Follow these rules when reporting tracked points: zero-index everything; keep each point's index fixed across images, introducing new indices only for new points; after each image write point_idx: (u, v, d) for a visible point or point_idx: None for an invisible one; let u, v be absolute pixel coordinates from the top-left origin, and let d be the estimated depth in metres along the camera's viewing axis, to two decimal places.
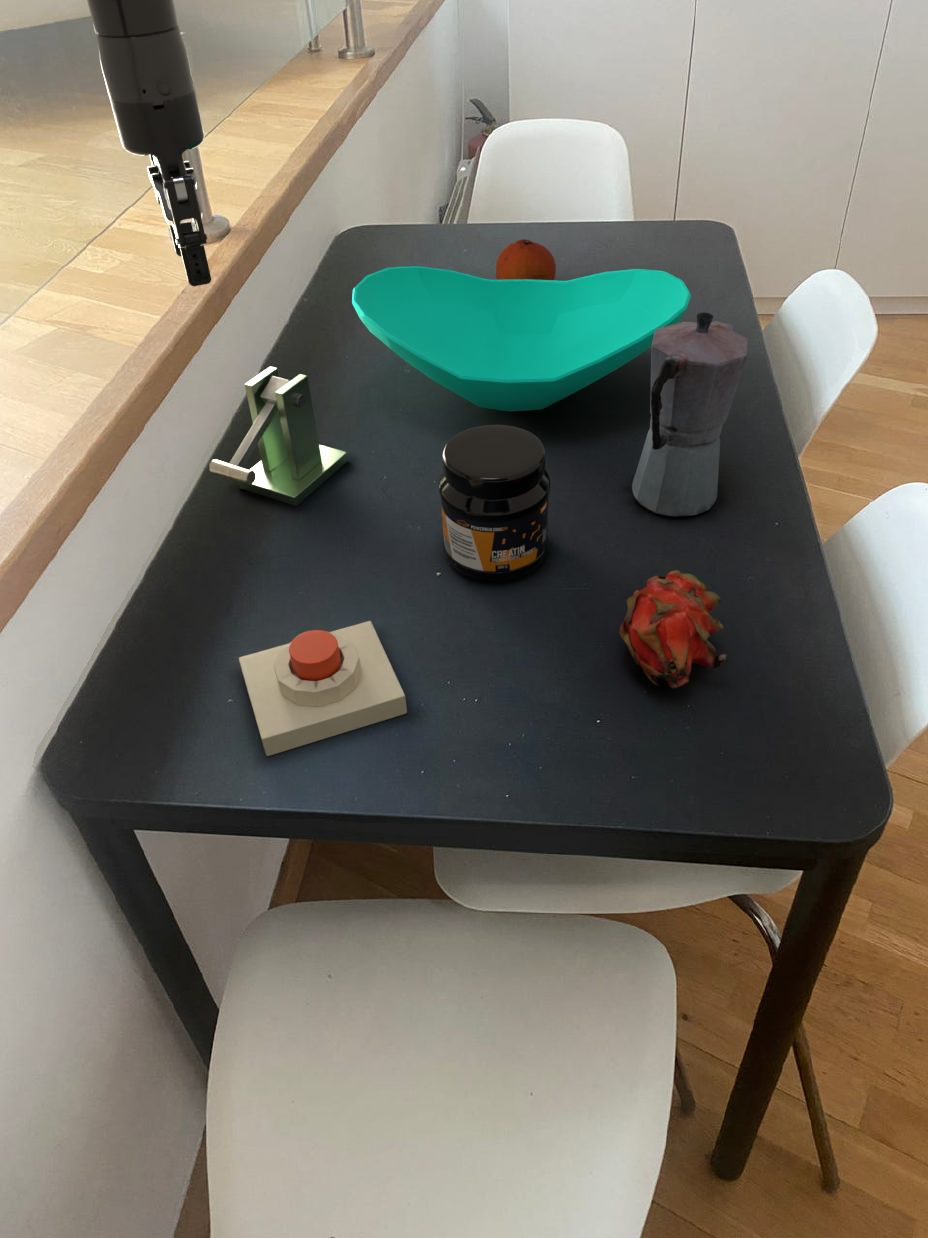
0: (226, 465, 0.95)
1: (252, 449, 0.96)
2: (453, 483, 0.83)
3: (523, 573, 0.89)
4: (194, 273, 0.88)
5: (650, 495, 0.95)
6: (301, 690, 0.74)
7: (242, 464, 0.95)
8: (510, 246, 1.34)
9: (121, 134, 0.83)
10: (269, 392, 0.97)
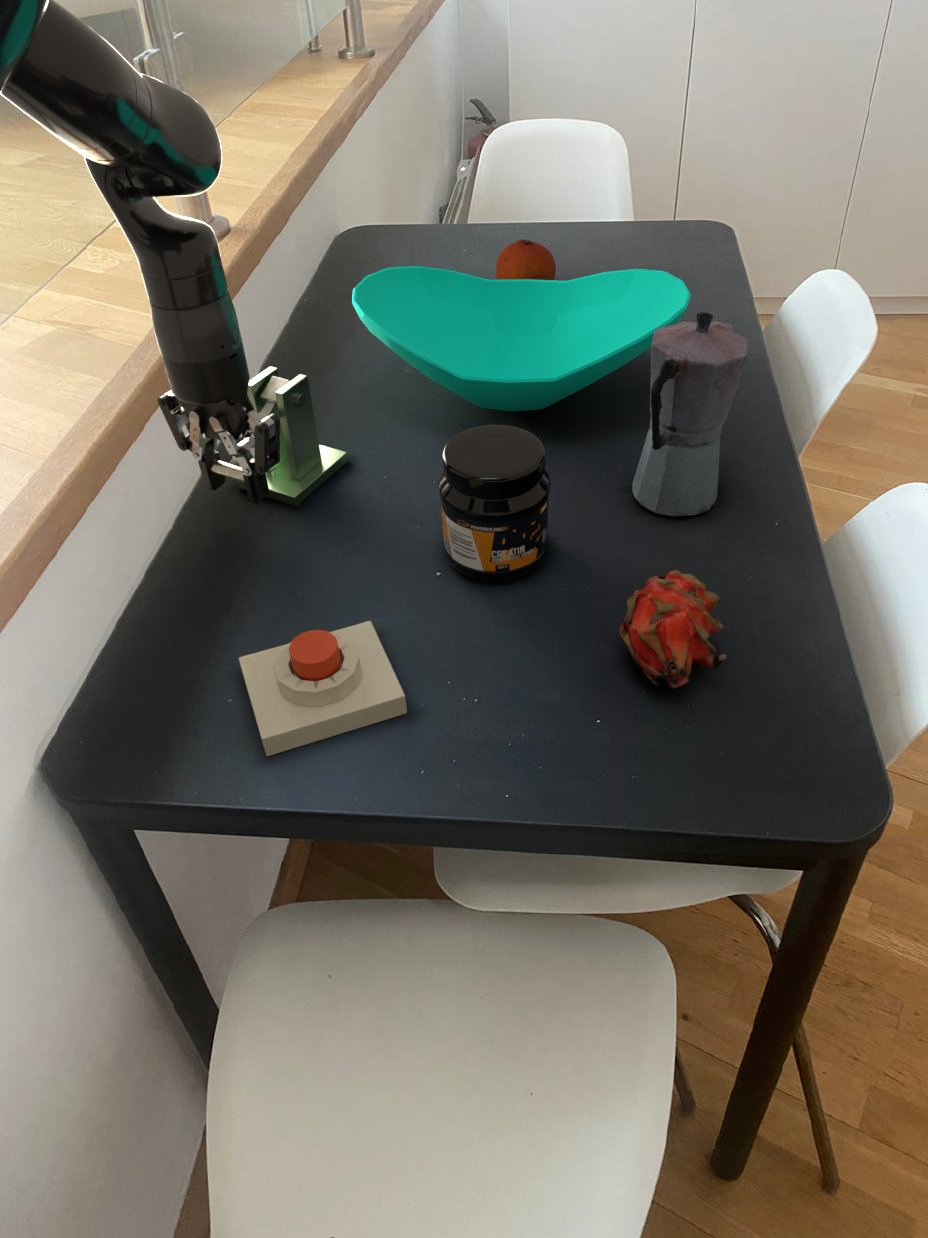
0: (226, 465, 0.95)
1: None
2: (453, 483, 0.83)
3: (523, 573, 0.89)
4: (261, 492, 0.94)
5: (650, 495, 0.95)
6: (301, 690, 0.74)
7: None
8: (510, 246, 1.34)
9: (190, 390, 0.85)
10: (269, 392, 0.97)
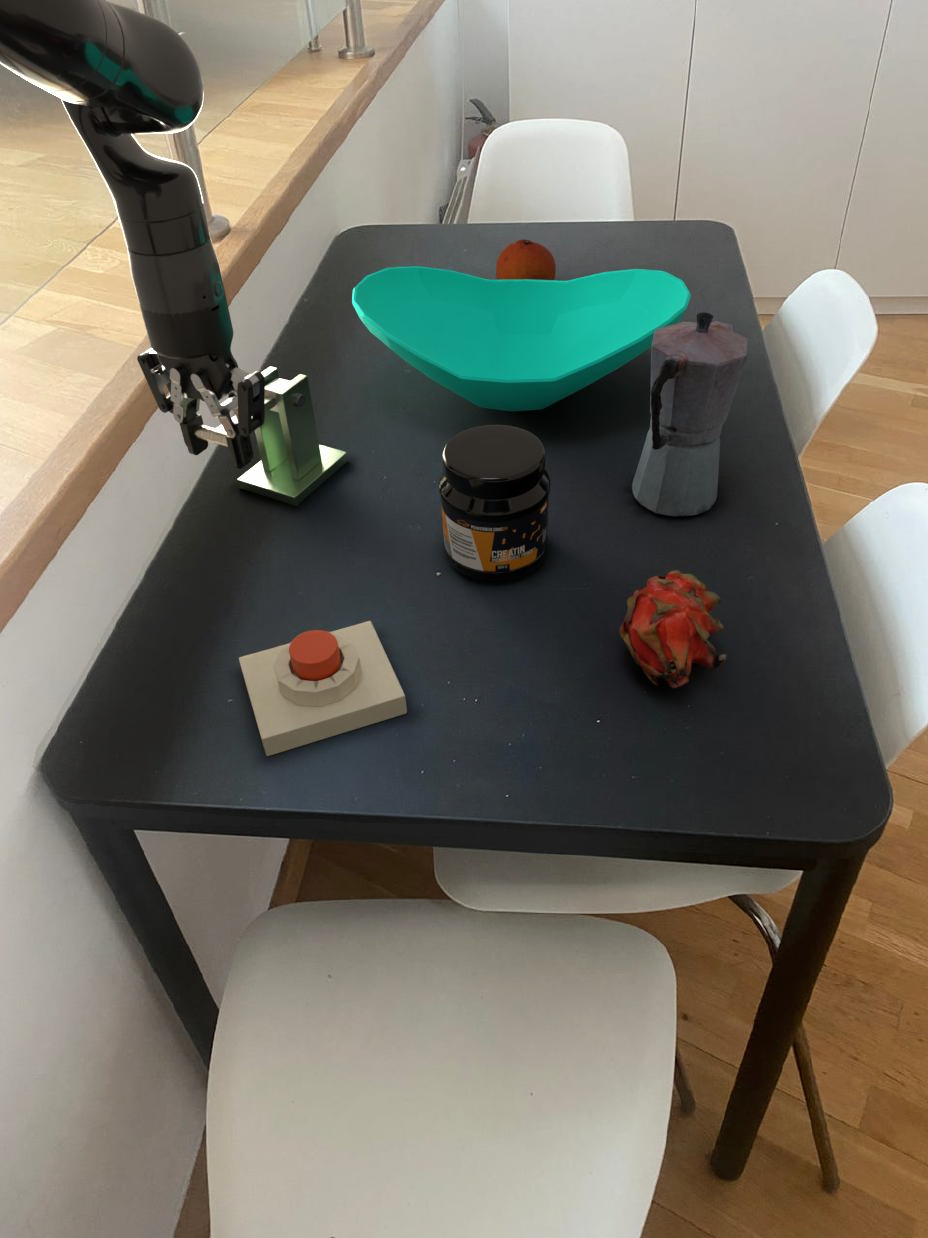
0: (213, 428, 0.91)
1: None
2: (453, 483, 0.83)
3: (523, 573, 0.89)
4: (245, 456, 0.90)
5: (650, 495, 0.95)
6: (301, 690, 0.74)
7: None
8: (510, 246, 1.34)
9: (170, 344, 0.81)
10: (271, 386, 0.97)
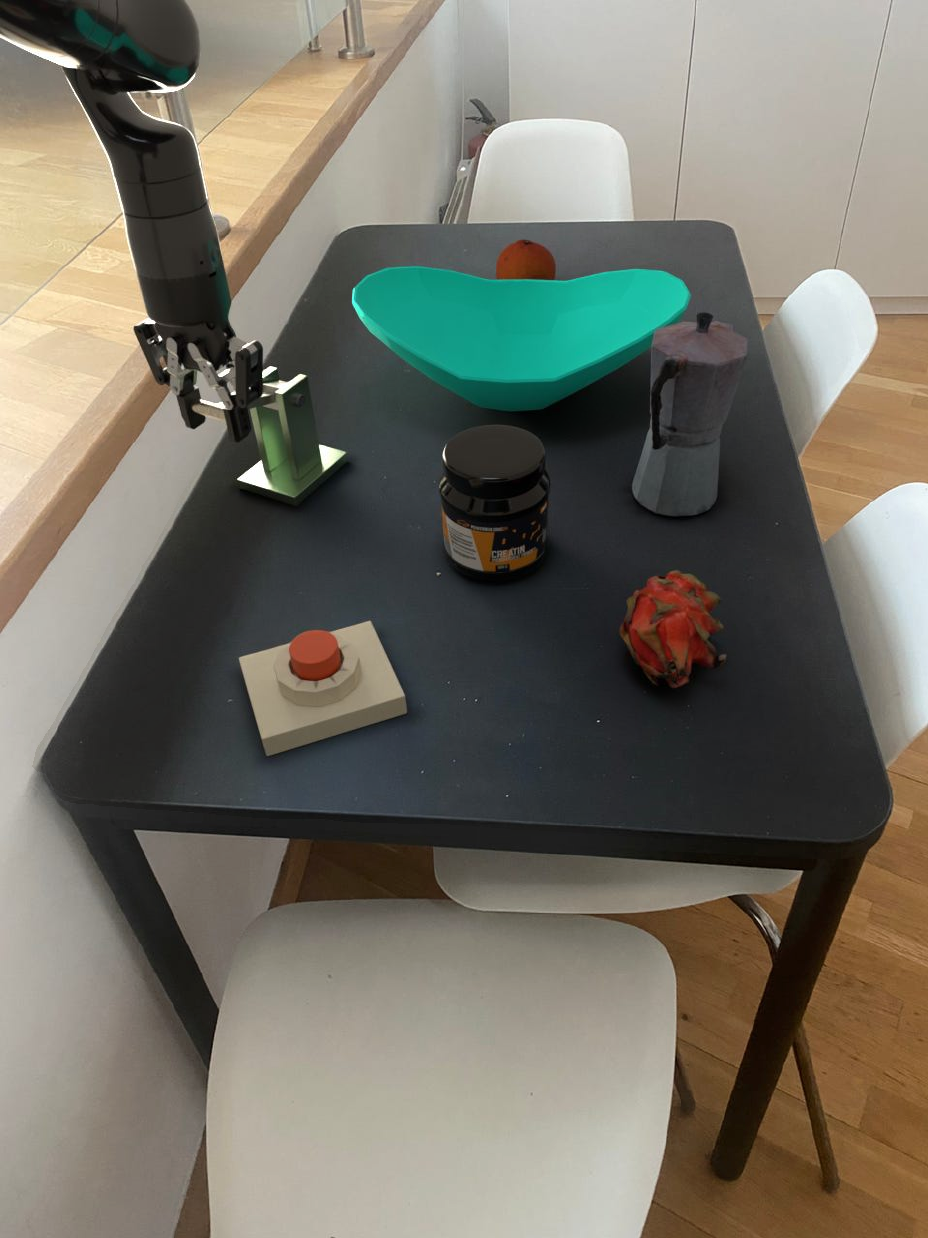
0: None
1: None
2: (453, 483, 0.83)
3: (523, 573, 0.89)
4: (243, 429, 0.88)
5: (650, 495, 0.95)
6: (301, 690, 0.74)
7: None
8: (510, 246, 1.34)
9: (167, 311, 0.79)
10: (273, 384, 0.97)
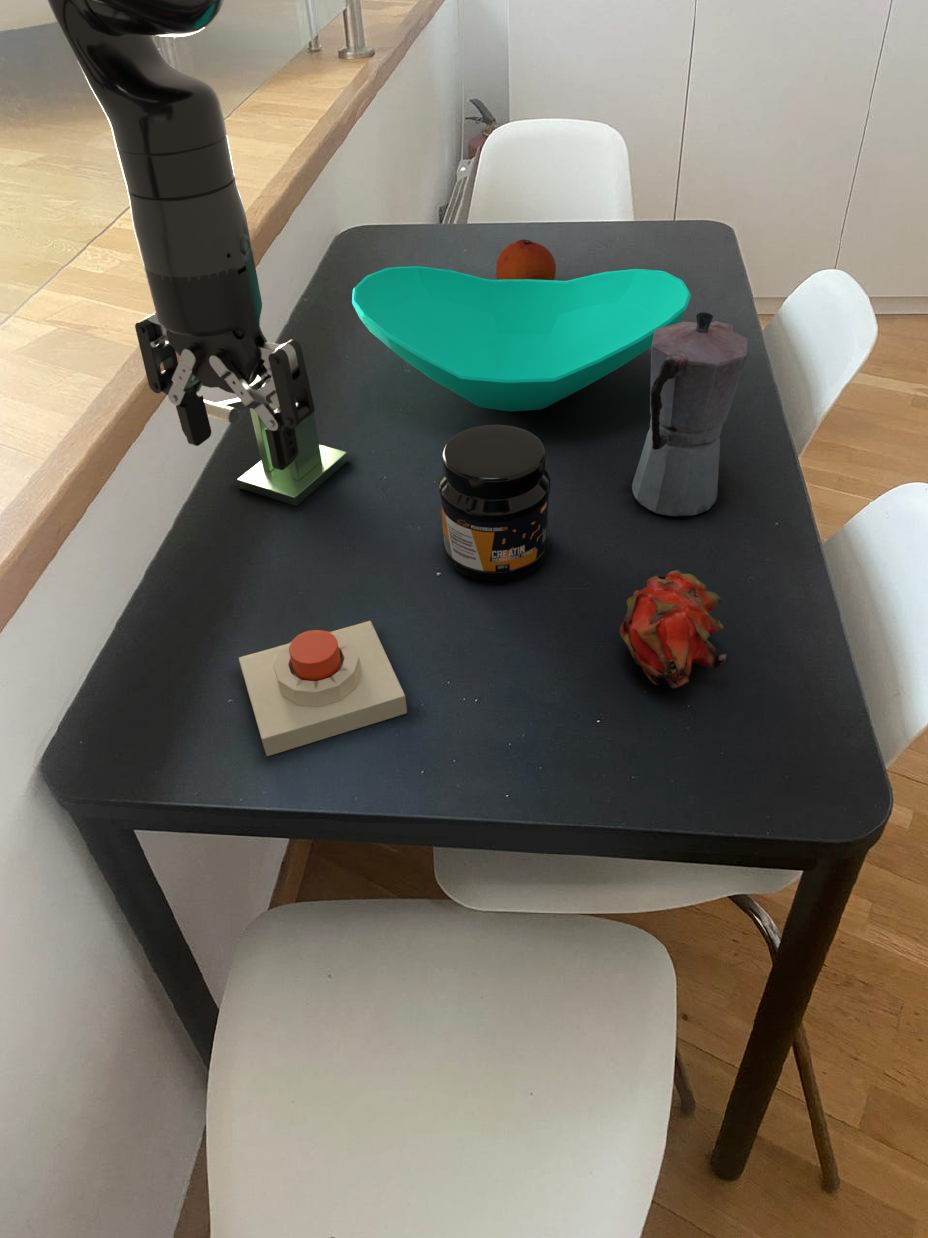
0: None
1: (239, 408, 0.92)
2: (453, 483, 0.83)
3: (523, 573, 0.89)
4: (289, 454, 0.72)
5: (650, 495, 0.95)
6: (301, 690, 0.74)
7: None
8: (510, 246, 1.34)
9: (185, 317, 0.63)
10: None
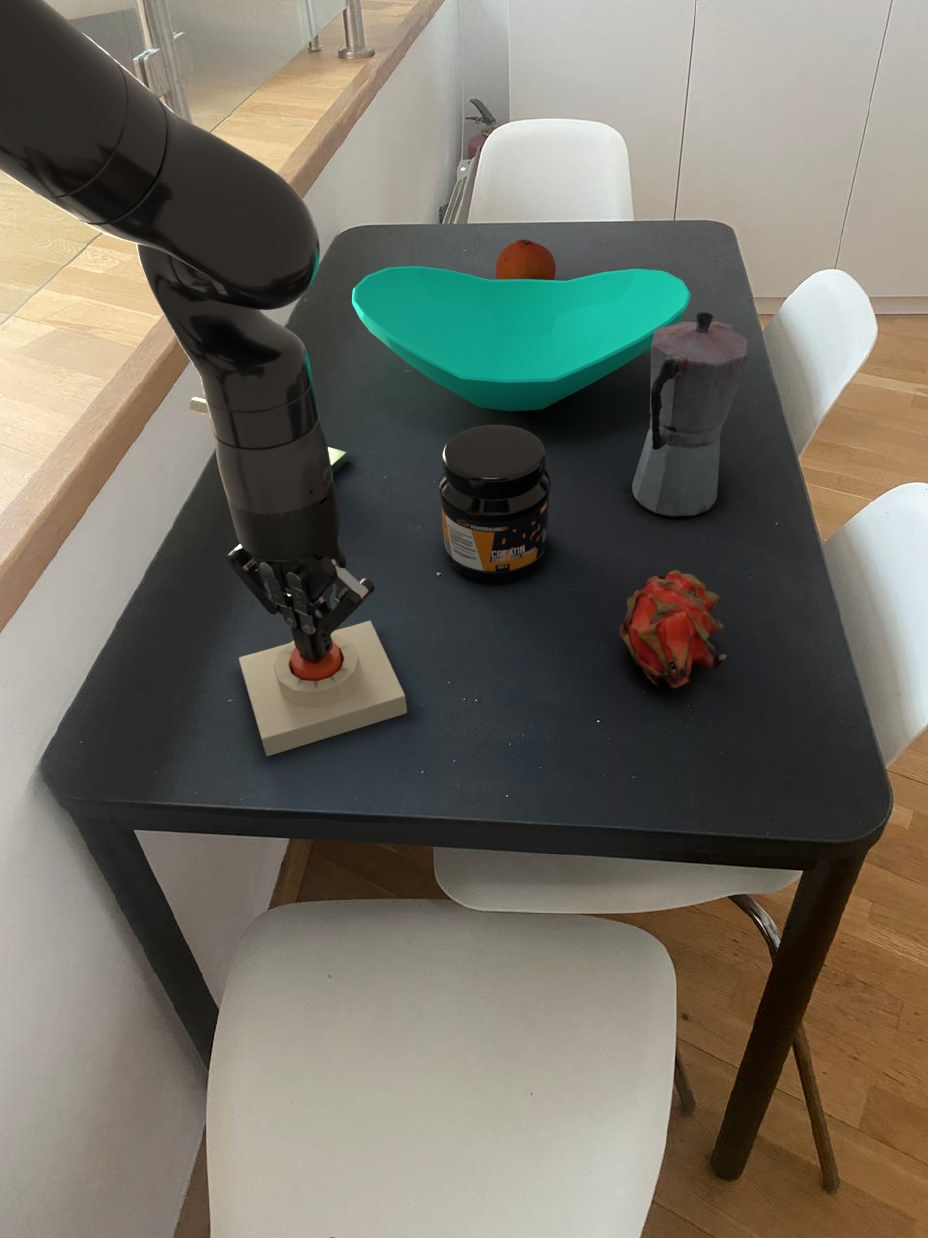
0: None
1: None
2: (453, 483, 0.83)
3: (523, 573, 0.88)
4: (324, 650, 0.74)
5: (650, 495, 0.95)
6: (301, 690, 0.74)
7: None
8: (510, 246, 1.34)
9: (266, 546, 0.64)
10: None
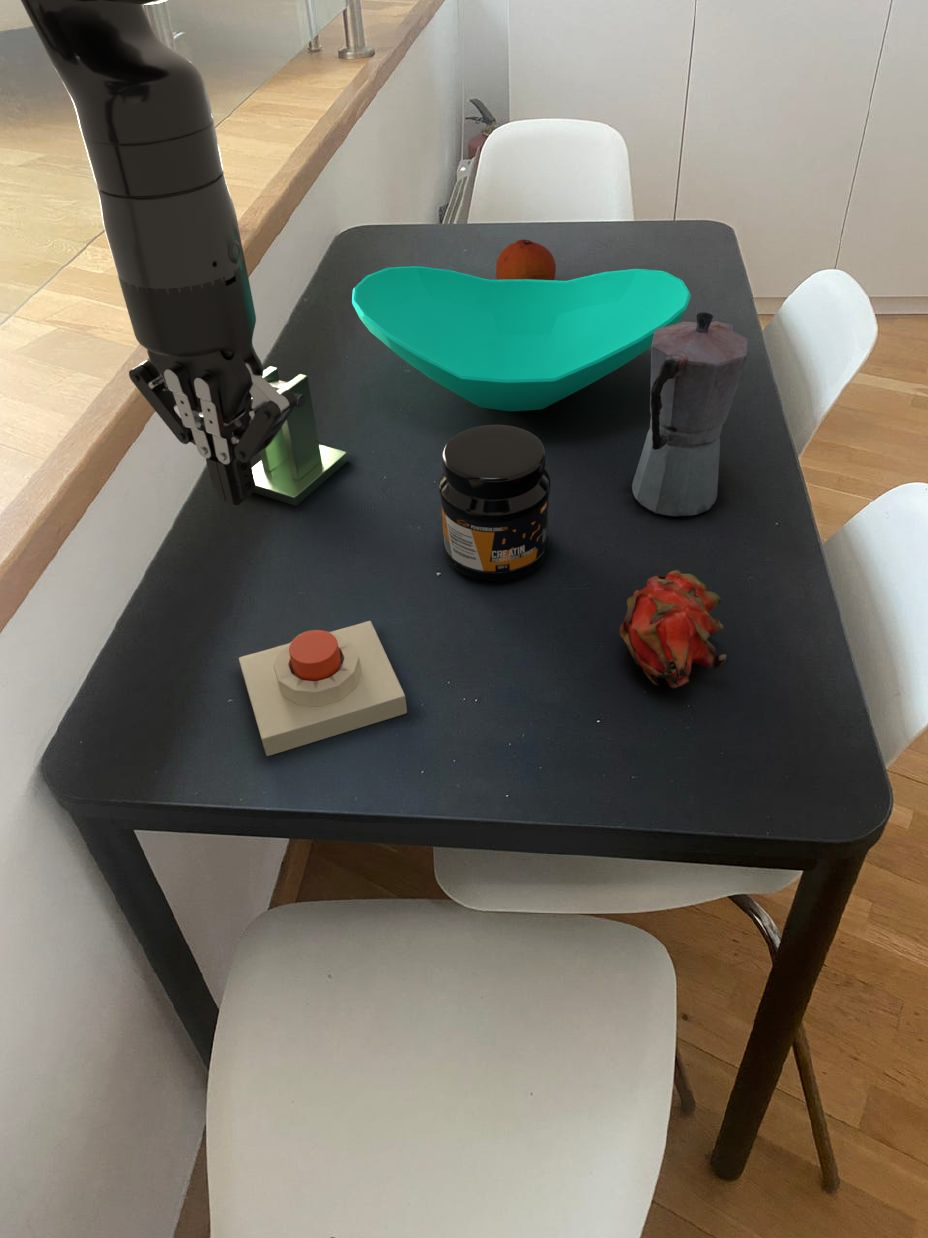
0: None
1: None
2: (453, 483, 0.83)
3: (523, 573, 0.89)
4: (244, 488, 0.65)
5: (650, 495, 0.95)
6: (301, 690, 0.74)
7: None
8: (510, 246, 1.34)
9: (164, 334, 0.54)
10: (273, 384, 0.97)
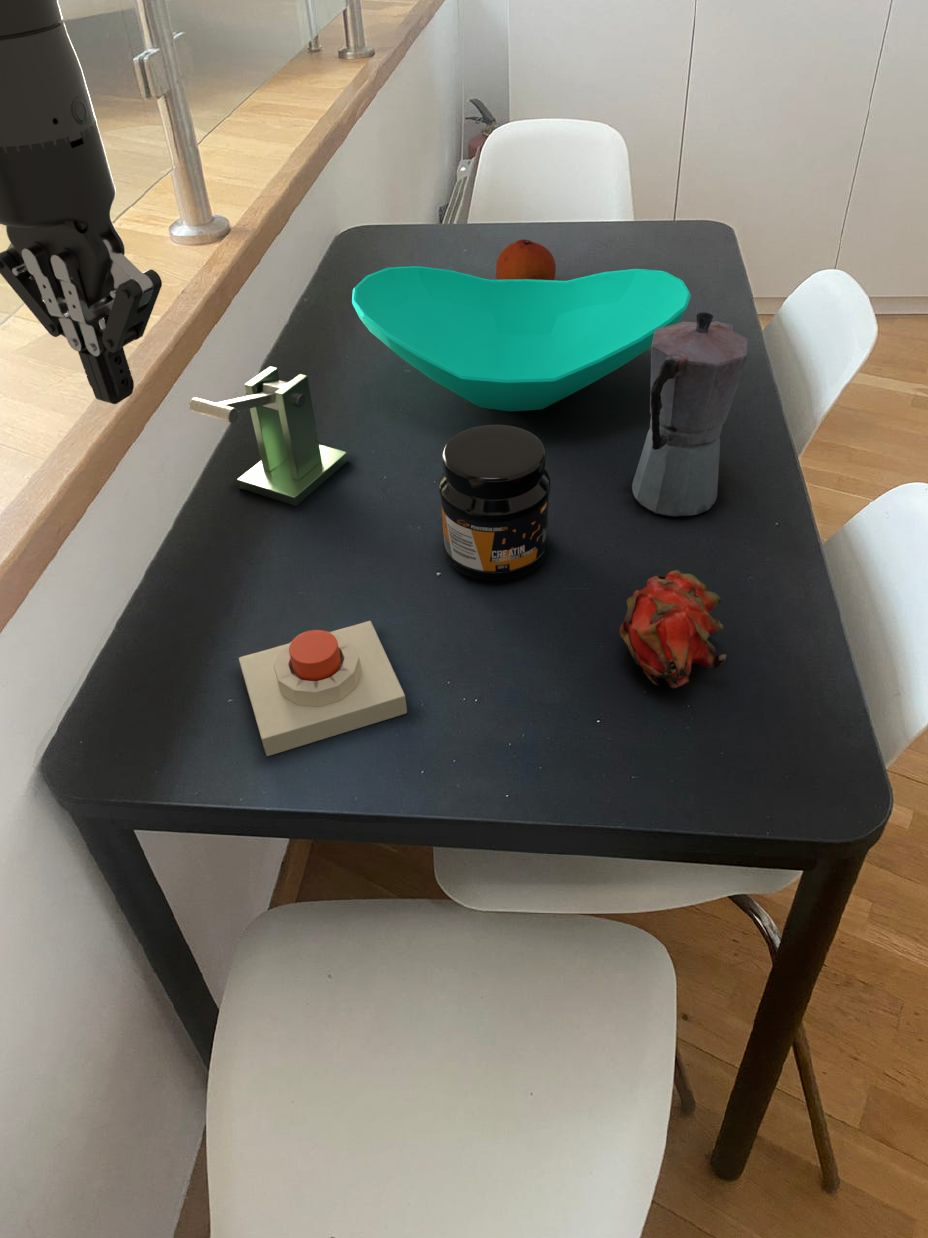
0: None
1: (239, 408, 0.92)
2: (453, 483, 0.83)
3: (523, 573, 0.89)
4: (120, 385, 0.62)
5: (650, 495, 0.95)
6: (301, 690, 0.74)
7: None
8: (510, 246, 1.34)
9: (8, 201, 0.51)
10: (273, 384, 0.97)
